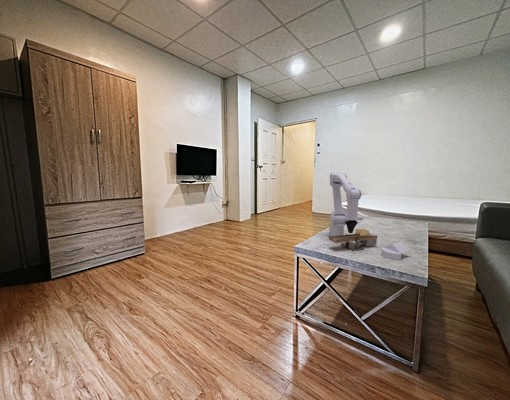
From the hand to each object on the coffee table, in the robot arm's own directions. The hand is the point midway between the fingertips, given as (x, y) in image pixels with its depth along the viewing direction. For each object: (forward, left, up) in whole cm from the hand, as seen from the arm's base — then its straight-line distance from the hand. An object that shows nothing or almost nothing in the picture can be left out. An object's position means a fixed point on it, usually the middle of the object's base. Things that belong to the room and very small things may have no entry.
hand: (350, 232), depth 123 cm
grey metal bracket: (0, +2, -9) cm, 9 cm away
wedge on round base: (+16, +15, -9) cm, 24 cm away
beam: (0, +2, -8) cm, 8 cm away
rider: (0, +8, -3) cm, 9 cm away
